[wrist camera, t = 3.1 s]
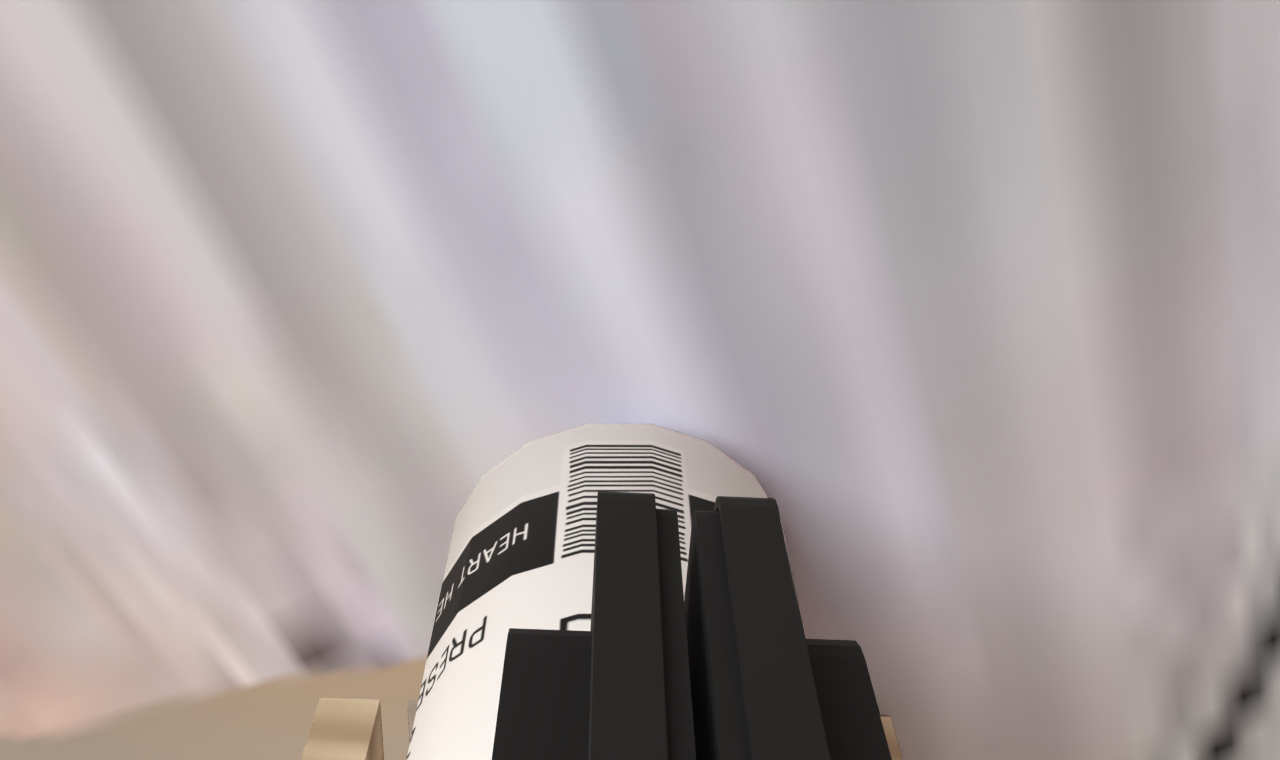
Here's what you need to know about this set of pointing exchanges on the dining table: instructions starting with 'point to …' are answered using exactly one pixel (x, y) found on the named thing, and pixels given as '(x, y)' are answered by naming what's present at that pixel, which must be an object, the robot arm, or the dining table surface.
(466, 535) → the supplement can
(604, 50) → the dining table surface
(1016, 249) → the dining table surface
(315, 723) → the rail cradle
